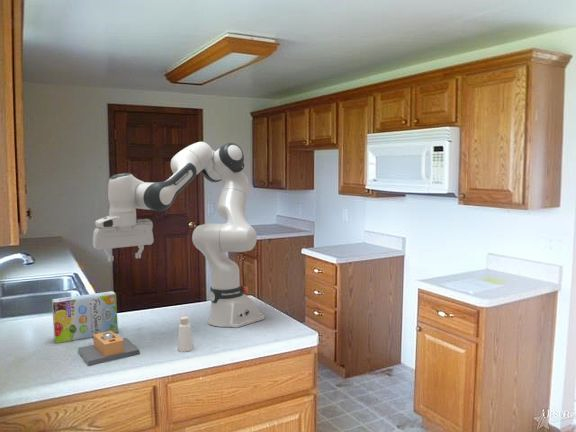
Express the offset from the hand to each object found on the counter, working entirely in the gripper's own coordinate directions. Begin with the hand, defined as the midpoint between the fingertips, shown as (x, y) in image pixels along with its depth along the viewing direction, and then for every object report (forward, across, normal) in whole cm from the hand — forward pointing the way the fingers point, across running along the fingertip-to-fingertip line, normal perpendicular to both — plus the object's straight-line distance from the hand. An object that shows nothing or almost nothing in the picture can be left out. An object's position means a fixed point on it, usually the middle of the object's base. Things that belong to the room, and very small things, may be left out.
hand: (124, 259), depth 170 cm
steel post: (+29, +9, +8) cm, 31 cm away
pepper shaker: (+29, -13, +20) cm, 38 cm away
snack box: (+29, +11, -14) cm, 34 cm away
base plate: (+29, +9, +8) cm, 31 cm away
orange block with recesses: (+28, +9, +8) cm, 30 cm away
